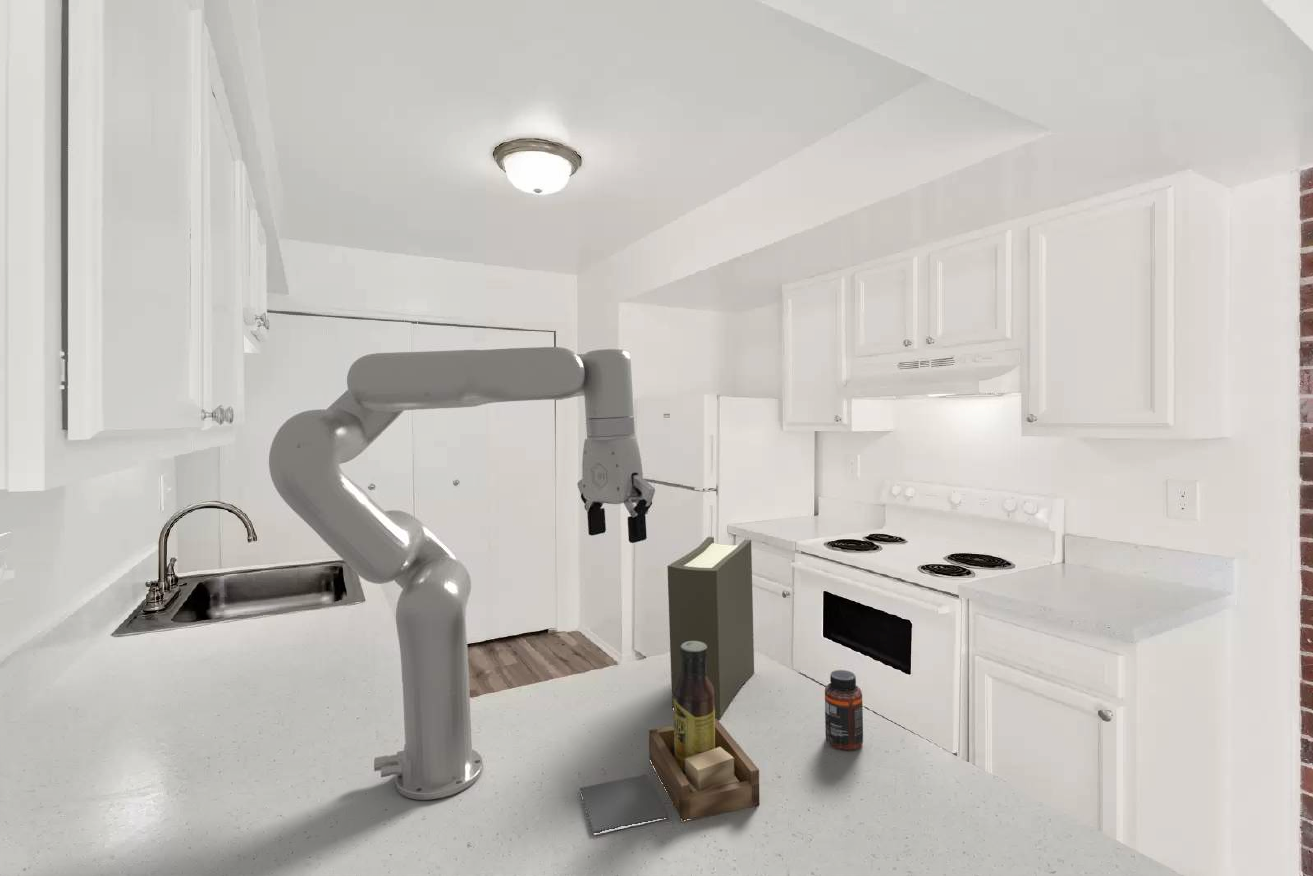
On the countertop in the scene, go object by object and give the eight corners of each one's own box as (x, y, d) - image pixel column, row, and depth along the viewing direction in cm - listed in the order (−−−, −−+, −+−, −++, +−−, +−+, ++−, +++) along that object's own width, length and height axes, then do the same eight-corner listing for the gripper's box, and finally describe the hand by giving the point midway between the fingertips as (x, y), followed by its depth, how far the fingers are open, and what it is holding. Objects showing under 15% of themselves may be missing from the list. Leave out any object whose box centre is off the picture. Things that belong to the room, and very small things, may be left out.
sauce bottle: (672, 761, 100) (669, 637, 99) (711, 759, 100) (709, 635, 99) (677, 787, 93) (674, 653, 92) (719, 783, 94) (717, 651, 93)
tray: (682, 822, 85) (681, 786, 85) (649, 761, 100) (648, 730, 100) (759, 804, 89) (759, 769, 88) (716, 748, 103) (716, 718, 103)
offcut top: (698, 791, 88) (698, 770, 87) (685, 779, 90) (685, 758, 90) (734, 778, 90) (733, 757, 90) (720, 766, 93) (720, 746, 93)
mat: (593, 836, 83) (593, 831, 83) (579, 791, 93) (579, 787, 93) (666, 819, 86) (666, 815, 86) (645, 778, 96) (645, 774, 95)
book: (719, 724, 112) (714, 568, 110) (670, 714, 116) (665, 563, 114) (754, 673, 132) (751, 539, 129) (711, 666, 136) (708, 536, 133)
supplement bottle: (863, 735, 106) (863, 669, 106) (862, 754, 101) (862, 684, 100) (826, 730, 108) (826, 665, 108) (823, 748, 103) (823, 680, 102)
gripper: (558, 431, 103) (564, 535, 104) (629, 431, 91) (636, 549, 92) (594, 428, 108) (600, 527, 110) (666, 427, 96) (672, 539, 97)
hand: (616, 537), depth 101 cm, fingers open, 9 cm apart
